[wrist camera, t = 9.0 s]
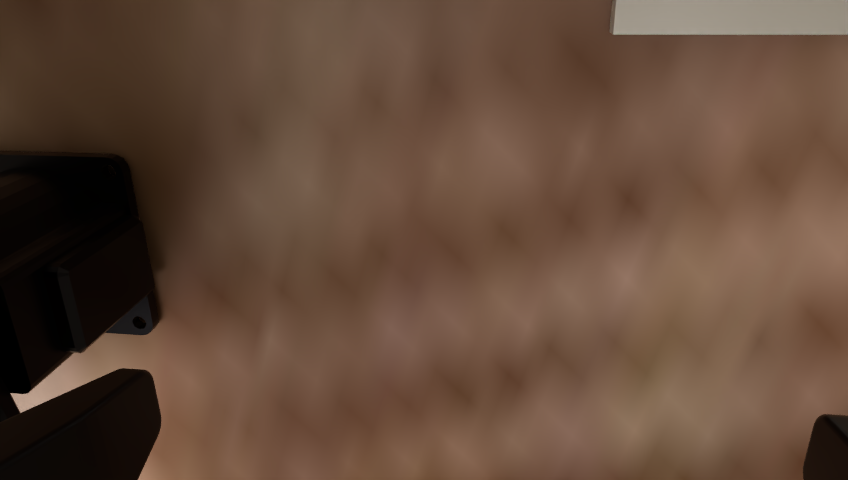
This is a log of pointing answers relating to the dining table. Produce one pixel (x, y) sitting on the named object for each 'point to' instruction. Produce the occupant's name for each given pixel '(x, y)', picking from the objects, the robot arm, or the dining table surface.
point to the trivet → (729, 17)
